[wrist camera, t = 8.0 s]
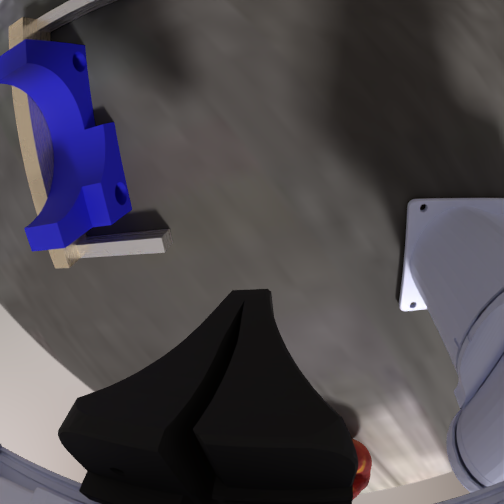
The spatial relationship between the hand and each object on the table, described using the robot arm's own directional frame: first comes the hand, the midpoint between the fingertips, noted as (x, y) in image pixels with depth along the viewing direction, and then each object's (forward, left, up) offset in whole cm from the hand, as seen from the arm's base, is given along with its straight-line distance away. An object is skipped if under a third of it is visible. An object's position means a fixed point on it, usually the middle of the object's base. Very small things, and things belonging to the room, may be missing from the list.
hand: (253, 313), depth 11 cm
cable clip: (+11, -7, -10) cm, 17 cm away
